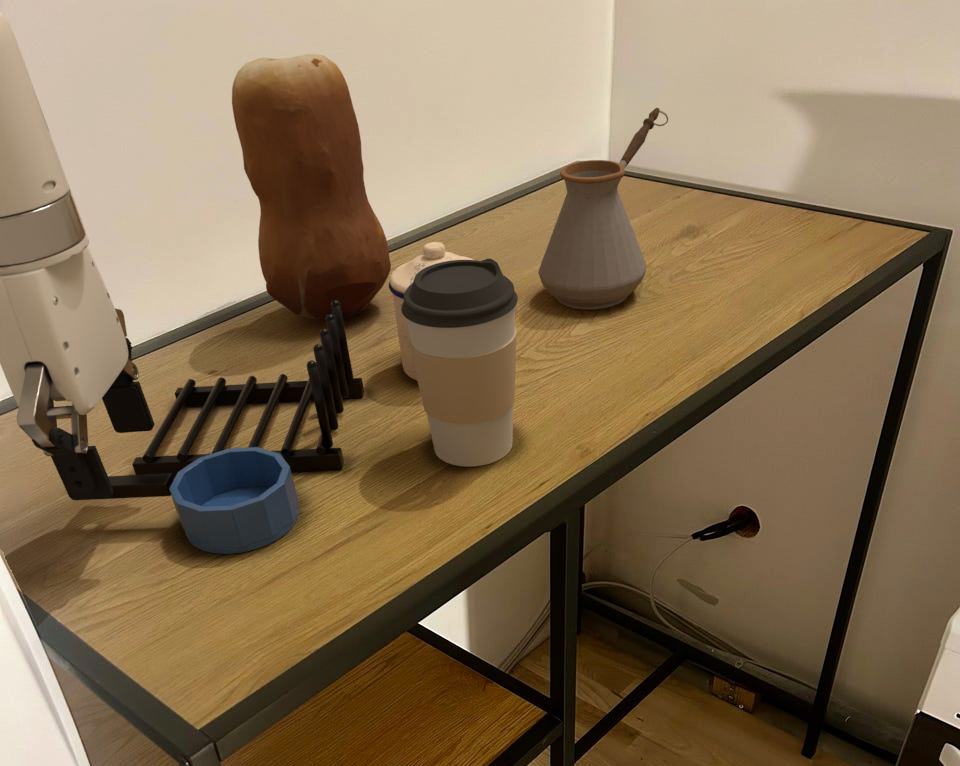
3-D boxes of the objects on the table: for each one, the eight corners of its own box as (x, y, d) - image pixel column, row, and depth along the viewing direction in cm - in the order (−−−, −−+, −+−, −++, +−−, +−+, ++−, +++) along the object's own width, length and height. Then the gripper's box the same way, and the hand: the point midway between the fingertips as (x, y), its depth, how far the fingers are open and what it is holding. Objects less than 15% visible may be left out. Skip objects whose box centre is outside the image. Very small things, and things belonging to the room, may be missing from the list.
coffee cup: (442, 484, 78) (419, 304, 68) (406, 435, 84) (381, 264, 74) (543, 455, 80) (535, 276, 70) (500, 410, 86) (488, 240, 76)
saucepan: (80, 559, 74) (60, 514, 71) (118, 495, 80) (101, 452, 78) (286, 552, 72) (274, 505, 69) (307, 487, 79) (297, 442, 76)
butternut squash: (344, 281, 113) (301, 35, 96) (420, 306, 105) (388, 44, 89) (248, 321, 106) (184, 64, 89) (323, 351, 98) (268, 76, 82)
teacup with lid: (407, 393, 90) (389, 269, 82) (395, 353, 97) (378, 235, 89) (530, 373, 91) (525, 249, 83) (510, 335, 98) (503, 217, 90)
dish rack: (137, 479, 82) (99, 378, 76) (182, 401, 93) (152, 307, 86) (342, 469, 81) (321, 365, 74) (364, 391, 91) (347, 295, 85)
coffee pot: (615, 324, 98) (617, 167, 88) (519, 307, 103) (512, 157, 93) (700, 253, 110) (710, 109, 101) (611, 241, 116) (613, 102, 106)
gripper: (21, 195, 68) (107, 411, 80) (-100, 287, 55) (23, 530, 67) (121, 185, 68) (193, 404, 79) (22, 276, 55) (125, 524, 66)
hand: (115, 462), depth 73 cm, fingers open, 9 cm apart
